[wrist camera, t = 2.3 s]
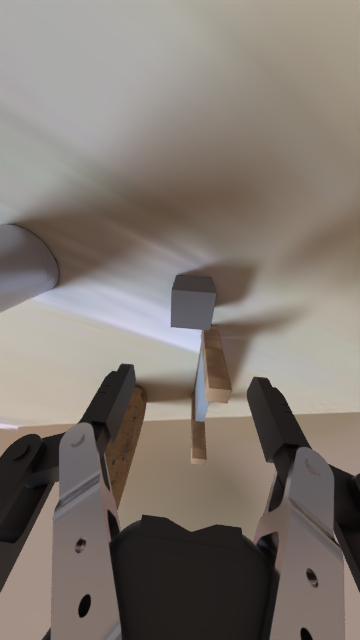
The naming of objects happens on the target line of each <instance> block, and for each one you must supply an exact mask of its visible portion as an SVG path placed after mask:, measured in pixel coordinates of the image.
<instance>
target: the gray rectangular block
mask: <svg viewBox="0 0 360 640" xmlns="http://www.w3.org/2000/svg"><path fill="white" fill-rule="evenodd" d="M216 295H217V292H216V289H215V286H214V283H213V280H212V278H211V277H197V276H183V275H176V278H175V281H174V284H173V287H172V297H171V327H177V328H189V329H200V330H210V327H211V322H212V317H213V311H214V306H215V300H216Z"/></svg>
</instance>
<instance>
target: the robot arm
mask: <svg viewBox="0 0 360 640" xmlns="http://www.w3.org/2000/svg"><path fill="white" fill-rule="evenodd" d="M58 277H59V272H58V267H57V263H56V261H55V259H54V256H53V255H52V253H51V252H50V250H49V249H48V248H47V246H46V245H45V244H44V243H43V242H42V241H41V240H40V239H39V238H38V237H37V236H35V235H34V234H32V233H31V232H29V231H28V230H26V229H24V228H21V227H19V226H15V225H0V312H2V311H5V310H7V309H9V308H11V307H13V306H16V305H18V304H20V303H22V302H24V301H26V300H29V299H31V298H33V297H35V296H37V295H40V294H42V293H44V292H46V291H48V290H50V289H52V288H53V287H54V286H55V285H56V283H57V282H58ZM135 383H136V378H135V371H134V365H132V364H121V365H120V367H119V369H118V370H117V371H112V372H111V373H110V374H108V375H107V376H106V377H105V379H104V381H103V382H102V384H101V386H100V388H99V389H98V391H97V393H96V394H95V396H94V398H93V400H92V401H91V403H90V405H89V407H88V408H87V410H86V412H85V413H84V415H83V417H82V418H81V420H80V421H79V422H78V423H77V424H76V425H75V426H73V427H71V428H70V429H69V430H68V431H67V432H64V433H62V434H57V435H53V436H49V437H45V438H41V437H40V436H38V435H37V434H29V435H26V436H23V437H22V438H20V439H18V440H17V441H15V442H14V443H13V444H11V445H10V446H9V447H8V448H7V450H6V451H5V452H4V453H3V455H2V456H1V457H0V592H1V590H2V588H3V586H4V584H5V582H6V580H7V578H8V576H9V574H10V572H11V570H12V568H13V566H14V564H15V562H16V560H17V558H18V556H19V554H20V552H21V550H22V548H23V546H24V544H25V542H26V540H27V538H28V536H29V533H30V532H31V530H32V528H33V525H34V524H35V522H36V519H37V517H38V515H39V513H40V511H41V509H42V507H43V505H44V503H45V501H46V499H47V497H48V495H49V493H50V491H51V489H52V487H53V485H54V483H55V482H58V481H59V502H58V505H57V506H56V508H55V511H54V516H53V547H52V549H53V550H52V598H51V628H50V629H49V630H48V632H47V634H46V635H45V636H44V637H43V639H42V640H345V618H344V617H345V612H344V611H345V610H344V560H343V554H344V556H345V559H346V561H347V564H348V566H349V568H350V571H351V573H352V575H353V577H354V580H355V583H356V585H357V587H358V590H359V592H360V474H358V475H356V476H353V475H351V474H349V473H347V472H344V471H342V470H340V469H338V468H335V467H334V466H331V465H330V464H328V463H327V462H326V461H325V459H324V458H323V457H322V456H321V455H320V454H318V453H317V452H316V451H314V450H312V448H311V447H310V445H309V443H308V442H307V440H306V438H305V436H304V434H303V432H302V430H301V428H300V426H299V424H298V422H297V421H296V419H295V417H294V415H293V414H292V411H291V409H290V407H289V406H288V403H287V401H286V399H285V398H284V396H283V395H282V393H281V392H280V391H279V390H278V389H277V388H275V387H272V385H271V383H270V381H269V380H268V379H267V378H263V377H254V378H253V379H252V382H251V384H250V386H249V388H248V390H247V400H248V403H249V407H250V410H251V413H252V416H253V420H254V423H255V426H256V429H257V433H258V436H259V439H260V443H261V446H262V449H263V453H264V456H265V459H266V462H270V463H274V464H275V467H276V471H275V473H274V477H273V481H272V485H271V488H270V492H269V496H268V500H267V504H266V507H265V510H264V513H263V515H262V517H261V518H260V520H259V523H258V526H257V529H256V532H255V535H254V539H253V542H252V541H251V540H250V539H248V538H247V537H246V536H244V535H242V530H241V528H239V527H232V526H224V525H217V524H216V525H214V526H210V527H207V528H204V529H200V530H197V531H194V532H190V531H188V530H186V529H184V528H182V527H181V526H179V525H177V524H176V523H174V522H172V521H171V520H169V519H167V518H164V517H156V516H149V515H142V519H141V520H139V521H136V522H134V523H132V524H130V525H129V526H127V527H126V528H125V529H124V530H122V531H121V527H120V522H119V517H118V512H117V507H116V503H115V500H114V496H113V493H112V488H111V483H110V478H109V473H108V468H107V463H106V457H105V450H106V447H107V445H108V443H113V444H114V443H115V440H116V437H117V434H118V432H119V429H120V426H121V423H122V421H123V418H124V415H125V412H126V410H127V407H128V404H129V401H130V399H131V396H132V393H133V390H134V387H135ZM333 530H334V533H335V535H336V537H337V540H338V542H339V544H338V543H337V542H336V541H335V539H334V534H333ZM339 545H340V546H339ZM340 547H341V548H340ZM341 549H342V550H341ZM342 552H343V554H342Z"/></svg>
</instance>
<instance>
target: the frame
mask: <svg viewBox="0 0 360 640" xmlns="http://www.w3.org/2000/svg"><path fill="white" fill-rule="evenodd" d="M201 351H202V355H203V369H204V384H205V398H206V401H207V402H218V403H228V400H229V397H230V395H231V392H232V388H231V384H230V379H229V375H228V371H227V366H226V362H225V358H224V354H223V349H222V345H221V341H220V336H219V332H218V328H217V326H211V327H210V330H202V334H201V348H200V354H199V361H198V367H197V373H196V380H195V386H194V392H193V393H192V416H191V463H193V464H202V465H205V463H206V459H207V458H206V441H205V423H204V422H200V421H195V387H196V381H197V375H198V369H199V363H200V357H201Z"/></svg>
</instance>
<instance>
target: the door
mask: <svg viewBox="0 0 360 640" xmlns="http://www.w3.org/2000/svg"><path fill="white" fill-rule="evenodd" d="M208 404H209V402H207V401H206V398H205V384H204V369H203V355H202V351H201V357H200V363H199V369H198V375H197V381H196V387H195V421H200V422H204V419H205V416H206V412H207V408H208Z"/></svg>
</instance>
